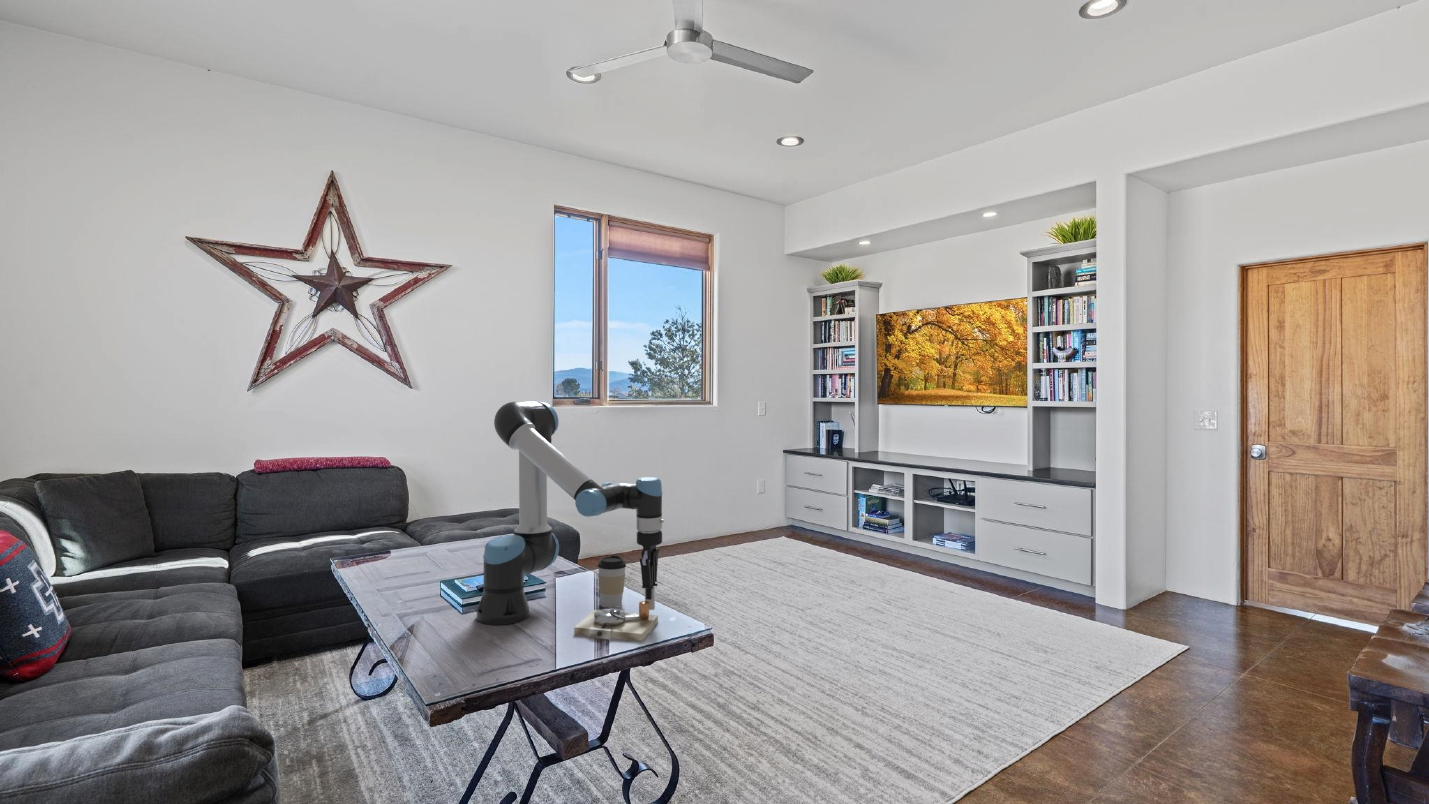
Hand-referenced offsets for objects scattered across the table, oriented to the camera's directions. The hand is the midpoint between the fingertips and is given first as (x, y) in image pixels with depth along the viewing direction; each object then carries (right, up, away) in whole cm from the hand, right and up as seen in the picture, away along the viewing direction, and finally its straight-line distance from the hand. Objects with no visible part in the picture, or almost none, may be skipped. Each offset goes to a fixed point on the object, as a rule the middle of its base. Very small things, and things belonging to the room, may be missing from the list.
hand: (649, 608), depth 202 cm
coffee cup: (-14, -4, +18) cm, 23 cm away
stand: (-9, -4, -4) cm, 11 cm away
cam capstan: (-8, -2, -4) cm, 9 cm away
